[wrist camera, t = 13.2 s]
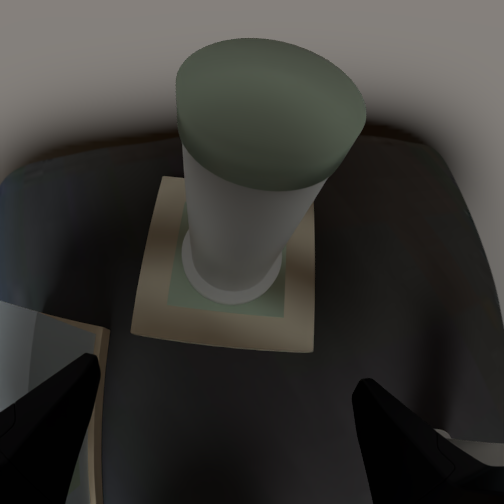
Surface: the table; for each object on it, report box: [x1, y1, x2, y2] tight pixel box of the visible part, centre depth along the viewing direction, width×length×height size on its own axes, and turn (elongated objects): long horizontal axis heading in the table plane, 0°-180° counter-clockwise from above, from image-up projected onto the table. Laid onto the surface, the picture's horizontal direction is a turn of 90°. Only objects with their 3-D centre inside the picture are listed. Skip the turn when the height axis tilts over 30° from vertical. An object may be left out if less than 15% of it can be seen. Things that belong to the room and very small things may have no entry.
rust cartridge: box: [434, 429, 504, 466], centre depth 10 cm, size 6×6×13 cm
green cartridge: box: [176, 38, 366, 305], centre depth 13 cm, size 6×6×13 cm
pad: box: [130, 176, 315, 353], centre depth 19 cm, size 11×11×1 cm
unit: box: [0, 301, 110, 504], centre depth 10 cm, size 13×6×8 cm, turn 176°
